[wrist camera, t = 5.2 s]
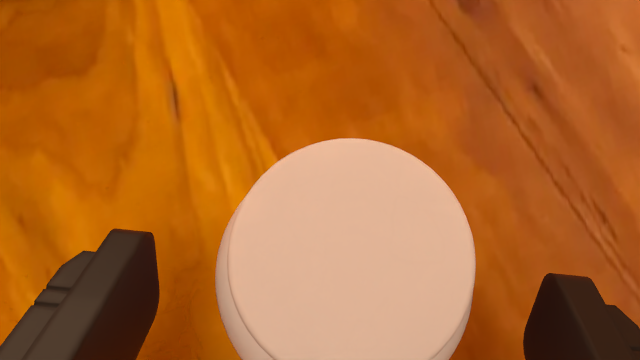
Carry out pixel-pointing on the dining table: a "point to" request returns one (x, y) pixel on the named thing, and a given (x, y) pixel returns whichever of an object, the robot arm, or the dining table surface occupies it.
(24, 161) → the dining table surface
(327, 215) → the pill bottle
